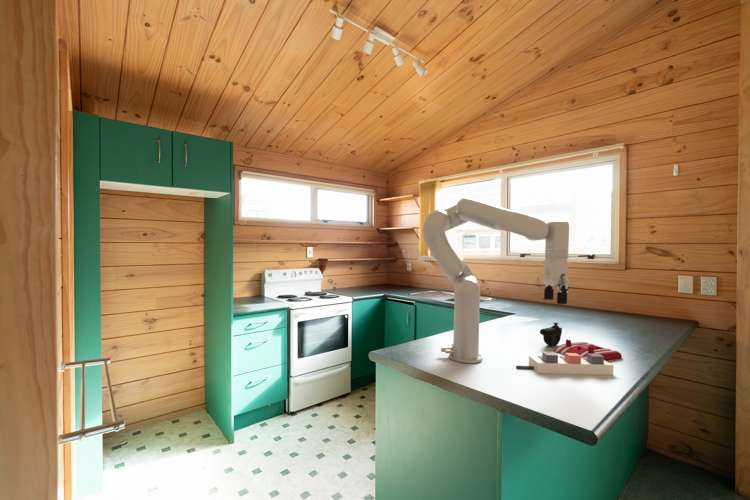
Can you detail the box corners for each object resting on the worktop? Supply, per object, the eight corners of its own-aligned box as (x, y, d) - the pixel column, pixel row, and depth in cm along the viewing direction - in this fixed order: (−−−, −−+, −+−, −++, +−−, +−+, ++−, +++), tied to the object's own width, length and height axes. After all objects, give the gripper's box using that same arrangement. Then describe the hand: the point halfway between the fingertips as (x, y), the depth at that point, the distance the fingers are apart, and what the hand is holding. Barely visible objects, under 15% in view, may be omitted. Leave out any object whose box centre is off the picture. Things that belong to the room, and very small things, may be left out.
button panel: (520, 372, 125) (521, 361, 125) (512, 364, 133) (512, 354, 133) (613, 375, 124) (613, 364, 124) (599, 367, 132) (599, 356, 132)
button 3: (592, 365, 125) (592, 356, 125) (586, 362, 128) (587, 353, 128) (603, 365, 125) (604, 356, 125) (598, 362, 128) (598, 353, 128)
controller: (563, 345, 161) (564, 323, 161) (547, 349, 154) (547, 326, 154) (554, 343, 165) (554, 321, 164) (537, 346, 158) (538, 324, 158)
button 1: (546, 364, 125) (546, 355, 125) (542, 361, 129) (542, 352, 128) (557, 364, 125) (558, 355, 125) (553, 361, 128) (553, 352, 128)
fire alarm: (552, 338, 151) (586, 335, 159) (552, 352, 151) (585, 348, 159) (588, 349, 136) (623, 345, 144) (587, 365, 136) (622, 359, 144)
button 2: (569, 364, 125) (569, 355, 125) (564, 361, 128) (564, 352, 128) (580, 365, 125) (581, 355, 125) (575, 362, 128) (576, 353, 128)
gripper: (535, 253, 139) (534, 297, 139) (558, 255, 121) (556, 305, 122) (555, 254, 139) (553, 298, 139) (580, 255, 121) (578, 306, 122)
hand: (555, 301), depth 130 cm, fingers open, 9 cm apart
